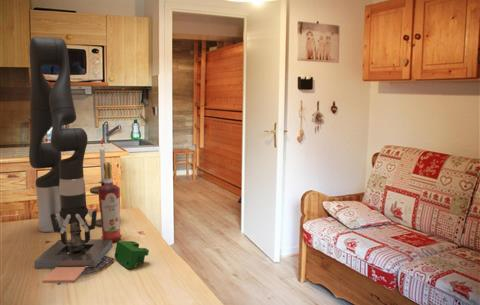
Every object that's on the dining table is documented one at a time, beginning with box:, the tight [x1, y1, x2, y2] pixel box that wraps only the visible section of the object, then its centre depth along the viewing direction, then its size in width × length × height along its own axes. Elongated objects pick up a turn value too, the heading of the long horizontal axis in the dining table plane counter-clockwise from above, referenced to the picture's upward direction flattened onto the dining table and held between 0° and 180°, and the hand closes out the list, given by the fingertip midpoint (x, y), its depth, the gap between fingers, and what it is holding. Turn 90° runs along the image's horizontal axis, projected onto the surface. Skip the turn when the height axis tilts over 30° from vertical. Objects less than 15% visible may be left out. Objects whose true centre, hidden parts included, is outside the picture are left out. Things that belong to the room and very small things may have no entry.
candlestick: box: [89, 137, 106, 228], centre depth 168 cm, size 11×11×35 cm
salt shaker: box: [66, 222, 87, 255], centre depth 136 cm, size 6×6×12 cm
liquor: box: [97, 161, 122, 243], centre depth 149 cm, size 7×7×28 cm
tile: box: [41, 267, 87, 283], centre depth 122 cm, size 9×9×1 cm
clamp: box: [114, 240, 150, 269], centre depth 131 cm, size 12×6×9 cm, turn 33°
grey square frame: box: [33, 238, 113, 270], centre depth 136 cm, size 18×18×2 cm
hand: (76, 242), depth 136 cm, fingers closed on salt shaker, 6 cm apart
